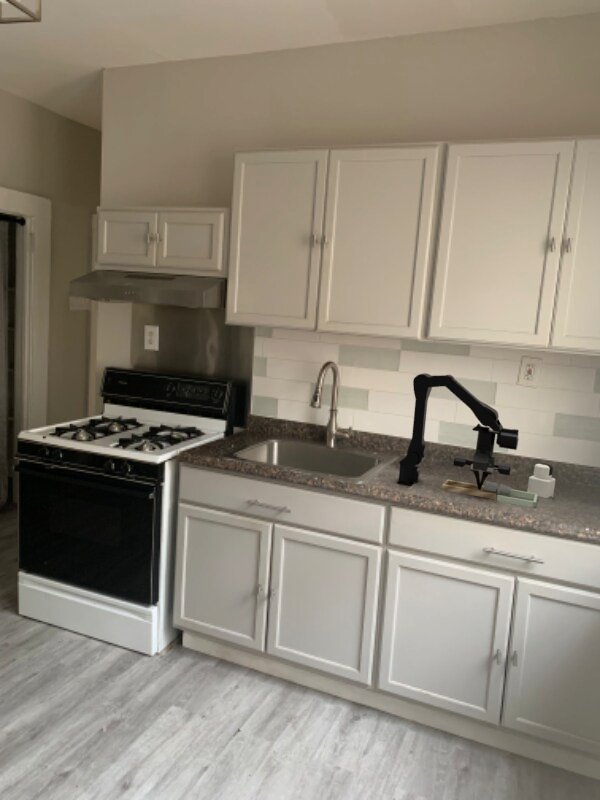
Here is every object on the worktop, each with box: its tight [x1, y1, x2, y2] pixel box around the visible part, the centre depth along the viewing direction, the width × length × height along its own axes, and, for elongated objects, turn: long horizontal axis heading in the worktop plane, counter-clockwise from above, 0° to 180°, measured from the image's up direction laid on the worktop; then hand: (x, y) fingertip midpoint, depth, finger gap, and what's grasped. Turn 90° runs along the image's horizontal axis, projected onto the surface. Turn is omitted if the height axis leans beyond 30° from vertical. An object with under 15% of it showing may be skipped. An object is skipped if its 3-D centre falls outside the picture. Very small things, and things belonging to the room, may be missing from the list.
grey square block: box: [496, 483, 513, 497], centre depth 213 cm, size 4×4×4 cm
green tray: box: [496, 488, 539, 509], centre depth 212 cm, size 12×12×3 cm
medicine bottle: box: [526, 462, 556, 499], centre depth 221 cm, size 7×7×12 cm
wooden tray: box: [441, 479, 499, 501], centre depth 218 cm, size 18×9×3 cm, turn 66°
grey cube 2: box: [483, 480, 499, 493], centre depth 215 cm, size 4×4×4 cm
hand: (479, 489), depth 216 cm, fingers closed
